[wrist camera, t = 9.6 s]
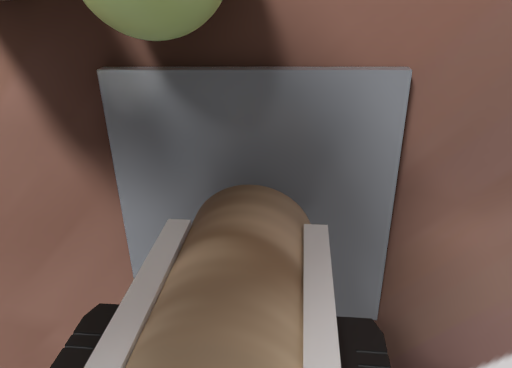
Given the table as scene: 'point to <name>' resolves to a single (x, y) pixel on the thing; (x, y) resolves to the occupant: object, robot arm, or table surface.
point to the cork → (232, 288)
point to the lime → (154, 16)
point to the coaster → (264, 153)
